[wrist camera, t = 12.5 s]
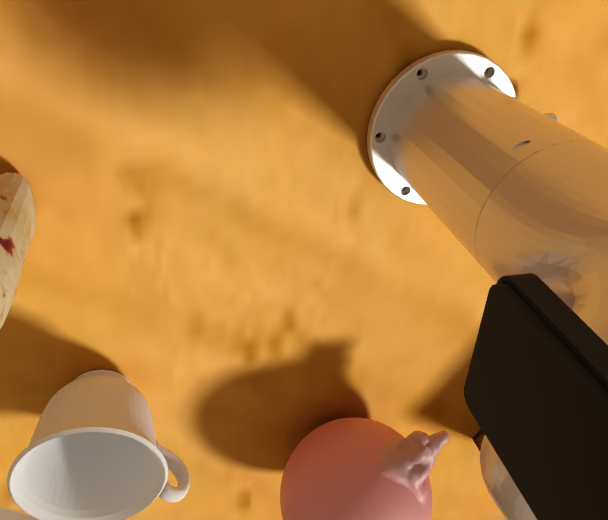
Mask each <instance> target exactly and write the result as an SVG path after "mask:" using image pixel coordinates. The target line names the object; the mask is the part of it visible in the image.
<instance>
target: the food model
mask: <svg viewBox="0 0 608 520" xmlns="http://www.w3.org/2000/svg"><path fill="white" fill-rule="evenodd" d="M34 229H35V206H34V201H33V196H32V192H31V188H30V185H29V182H28V181H27V180H26V179H25V178H24V177H23V176H21V175H19V174H18V173H10V172H6V173H3V174H0V329H1V327H2V326H3V324H4V322H5V319H6V317H7V314H8V312H9V309H10V307H11V305H12V302H13V300H14V297H15V295H16V292H17V288H18V284H19V280H20V276H21V272H22V268H23V264H24V261H25V257H26V254H27V250H28V247H29V245H30V242H31V239H32V237H33V234H34Z"/></svg>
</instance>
